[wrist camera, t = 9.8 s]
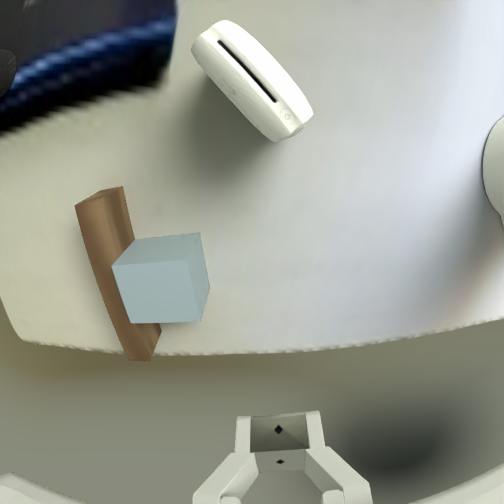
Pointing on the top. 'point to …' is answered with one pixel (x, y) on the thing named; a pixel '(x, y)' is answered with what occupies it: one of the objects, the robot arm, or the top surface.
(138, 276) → the slate block
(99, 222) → the stop board
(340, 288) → the top surface
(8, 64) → the travel mug
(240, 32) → the photo printer
